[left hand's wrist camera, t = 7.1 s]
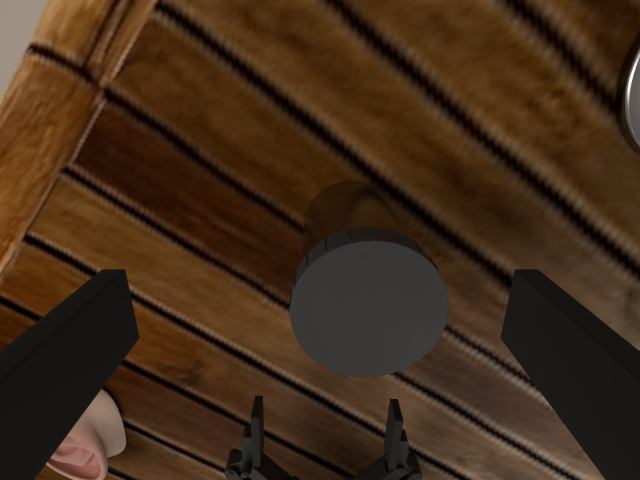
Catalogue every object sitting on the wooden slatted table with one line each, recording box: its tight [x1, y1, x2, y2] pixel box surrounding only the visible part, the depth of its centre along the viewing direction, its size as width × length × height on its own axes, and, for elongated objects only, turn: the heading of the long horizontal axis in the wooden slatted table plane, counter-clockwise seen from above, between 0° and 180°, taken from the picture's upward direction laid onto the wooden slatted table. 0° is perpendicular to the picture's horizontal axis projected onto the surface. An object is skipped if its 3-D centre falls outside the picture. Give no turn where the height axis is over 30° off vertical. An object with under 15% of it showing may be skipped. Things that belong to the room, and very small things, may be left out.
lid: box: [289, 226, 449, 377], centre depth 23 cm, size 9×9×2 cm
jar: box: [301, 182, 409, 262], centre depth 29 cm, size 8×8×15 cm
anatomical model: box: [46, 389, 126, 480], centre depth 43 cm, size 13×4×12 cm
